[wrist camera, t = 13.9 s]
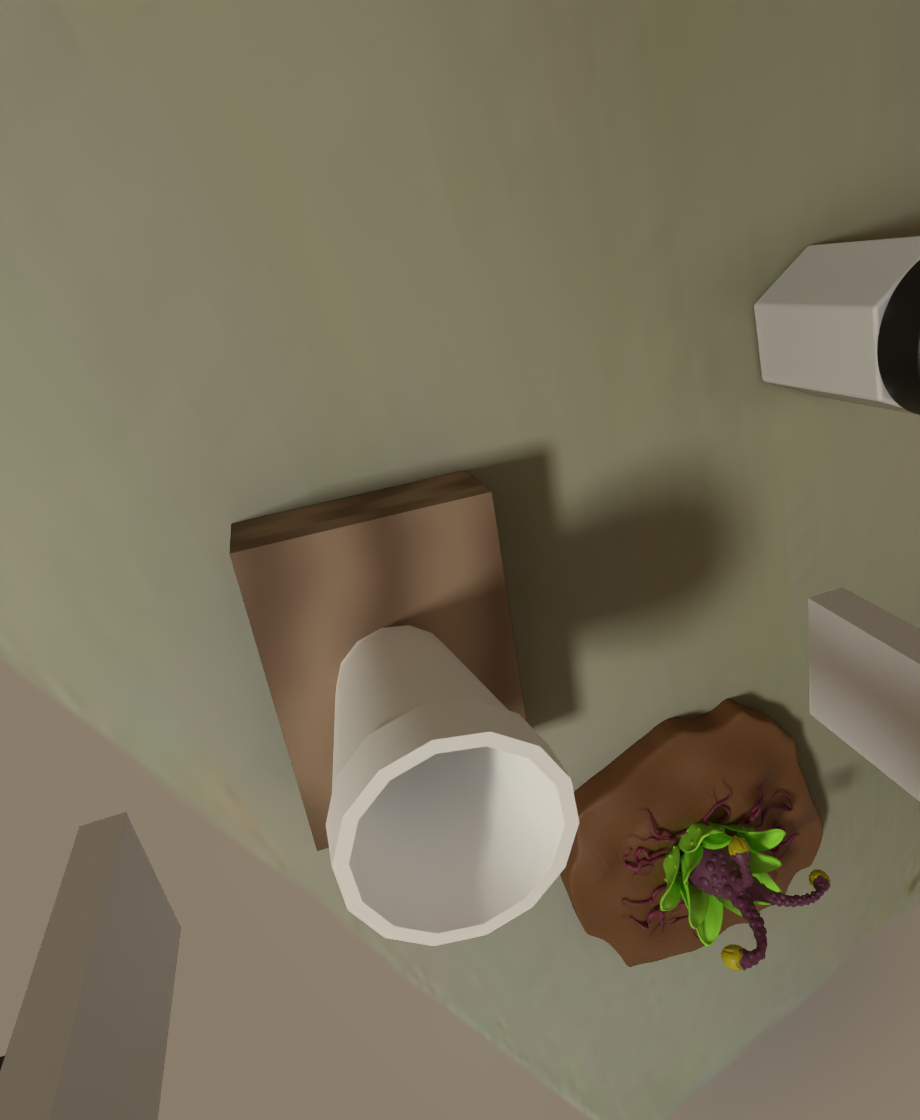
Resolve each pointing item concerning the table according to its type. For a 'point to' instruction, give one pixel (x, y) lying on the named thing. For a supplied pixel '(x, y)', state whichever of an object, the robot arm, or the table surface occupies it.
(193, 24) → the table surface
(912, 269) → the jar
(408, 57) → the table surface
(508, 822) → the foam cup
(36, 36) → the table surface
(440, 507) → the walnut shelf stand
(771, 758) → the plant
